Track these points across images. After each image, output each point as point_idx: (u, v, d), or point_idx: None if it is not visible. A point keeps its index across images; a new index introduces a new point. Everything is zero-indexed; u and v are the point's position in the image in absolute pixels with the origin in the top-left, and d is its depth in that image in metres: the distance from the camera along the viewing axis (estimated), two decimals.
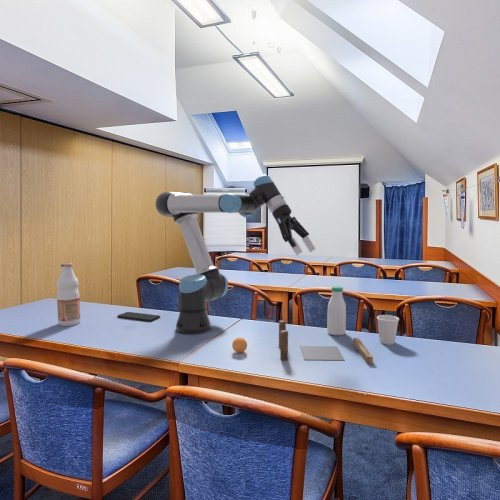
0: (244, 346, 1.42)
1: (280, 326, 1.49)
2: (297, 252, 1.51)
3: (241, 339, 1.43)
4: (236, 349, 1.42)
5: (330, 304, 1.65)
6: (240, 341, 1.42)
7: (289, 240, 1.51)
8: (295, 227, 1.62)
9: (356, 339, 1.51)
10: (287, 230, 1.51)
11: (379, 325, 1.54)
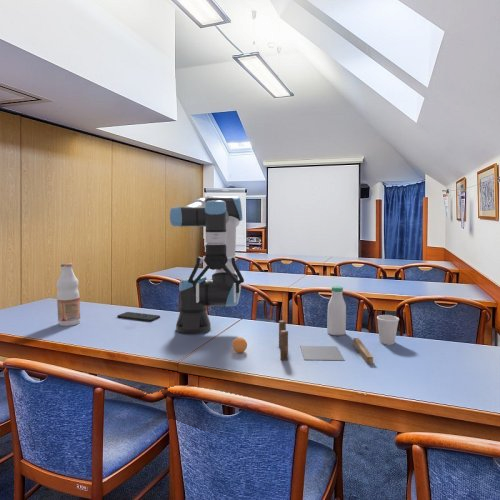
0: (244, 346, 1.42)
1: (280, 326, 1.49)
2: None
3: (241, 339, 1.43)
4: (236, 349, 1.42)
5: (330, 304, 1.65)
6: (240, 341, 1.42)
7: (193, 285, 1.43)
8: (225, 270, 1.42)
9: (356, 339, 1.51)
10: (193, 275, 1.41)
11: (379, 325, 1.54)
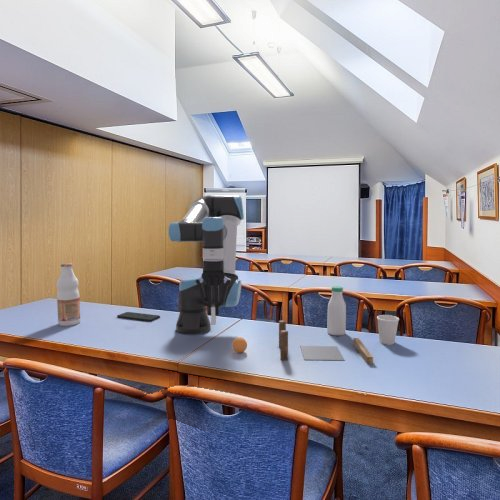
0: (244, 346, 1.42)
1: (280, 326, 1.49)
2: None
3: (241, 339, 1.43)
4: (236, 349, 1.42)
5: (330, 304, 1.65)
6: (240, 341, 1.42)
7: (208, 307, 1.43)
8: (215, 288, 1.42)
9: (356, 339, 1.51)
10: (204, 296, 1.41)
11: (379, 325, 1.54)
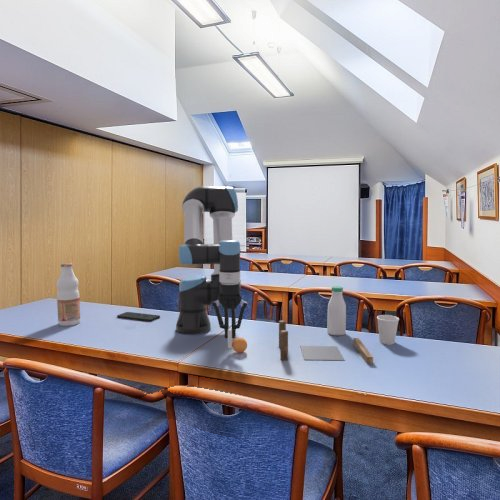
0: (244, 346, 1.42)
1: (280, 326, 1.49)
2: None
3: (241, 339, 1.43)
4: (236, 349, 1.42)
5: (330, 304, 1.65)
6: (240, 341, 1.42)
7: None
8: None
9: (356, 339, 1.51)
10: (220, 319, 1.42)
11: (379, 325, 1.54)
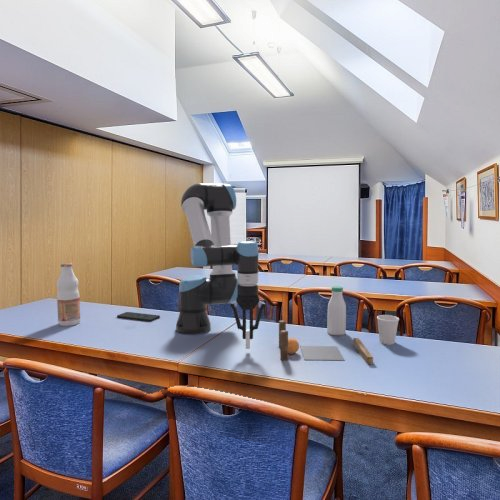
0: (296, 349, 1.42)
1: (280, 326, 1.49)
2: None
3: (296, 341, 1.42)
4: (288, 349, 1.41)
5: (330, 304, 1.65)
6: (294, 343, 1.41)
7: (242, 330, 1.44)
8: None
9: (356, 339, 1.51)
10: (238, 320, 1.42)
11: (379, 325, 1.54)
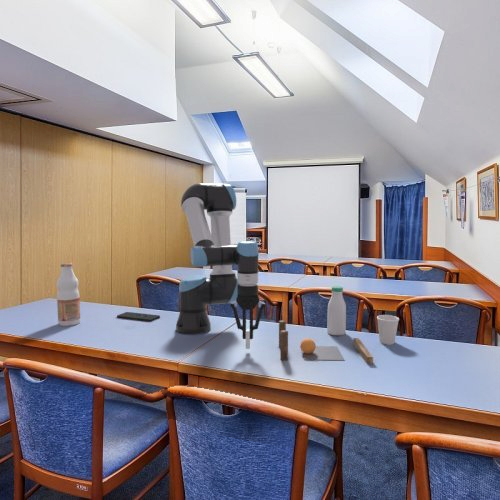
0: (304, 350, 1.41)
1: (280, 326, 1.49)
2: None
3: (309, 353, 1.42)
4: (309, 344, 1.41)
5: (330, 304, 1.65)
6: (310, 352, 1.41)
7: (242, 330, 1.44)
8: None
9: (356, 339, 1.51)
10: (238, 320, 1.42)
11: (379, 325, 1.54)
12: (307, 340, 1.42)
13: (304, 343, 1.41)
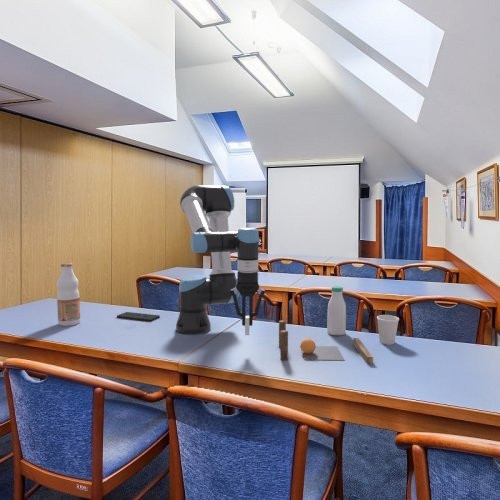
0: (304, 350, 1.41)
1: (280, 326, 1.49)
2: None
3: (309, 353, 1.42)
4: (309, 344, 1.41)
5: (330, 304, 1.65)
6: (310, 352, 1.41)
7: (242, 317, 1.44)
8: (249, 298, 1.43)
9: (356, 339, 1.51)
10: (238, 307, 1.42)
11: (379, 325, 1.54)
12: (307, 340, 1.42)
13: (304, 343, 1.41)
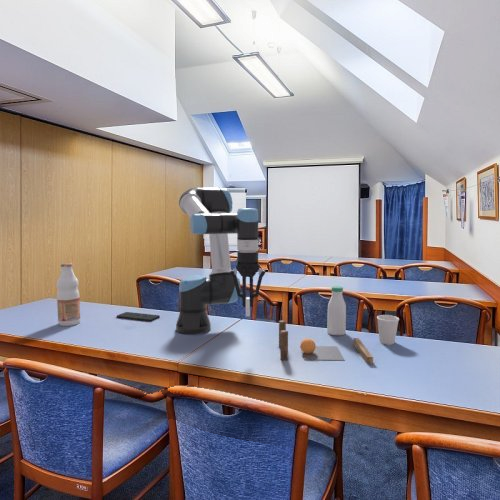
0: (304, 350, 1.41)
1: (280, 326, 1.49)
2: None
3: (309, 353, 1.42)
4: (309, 344, 1.41)
5: (330, 304, 1.65)
6: (310, 352, 1.41)
7: (242, 298, 1.43)
8: None
9: (356, 339, 1.51)
10: (238, 287, 1.41)
11: (379, 325, 1.54)
12: (307, 340, 1.42)
13: (304, 343, 1.41)
